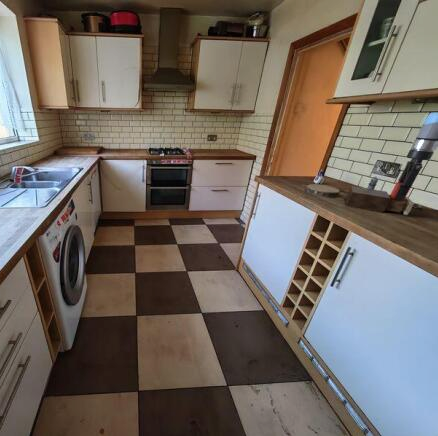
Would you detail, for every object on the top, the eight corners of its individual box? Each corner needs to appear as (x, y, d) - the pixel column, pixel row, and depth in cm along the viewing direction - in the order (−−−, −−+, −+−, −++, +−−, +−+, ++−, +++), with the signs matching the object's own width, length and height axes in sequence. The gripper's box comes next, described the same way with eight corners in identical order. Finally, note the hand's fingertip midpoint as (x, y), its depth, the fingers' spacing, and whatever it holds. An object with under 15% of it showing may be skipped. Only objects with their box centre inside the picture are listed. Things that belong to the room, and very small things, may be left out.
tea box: (397, 206, 116) (409, 183, 110) (399, 209, 112) (411, 185, 107) (385, 204, 118) (396, 181, 113) (386, 206, 115) (398, 183, 110)
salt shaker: (361, 193, 139) (370, 174, 134) (374, 196, 135) (383, 176, 130) (359, 195, 136) (368, 176, 130) (372, 198, 132) (382, 178, 126)
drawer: (413, 209, 115) (420, 198, 113) (420, 217, 106) (427, 206, 104) (367, 201, 125) (372, 191, 122) (370, 207, 116) (375, 197, 113)
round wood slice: (344, 197, 132) (346, 192, 131) (318, 197, 132) (320, 192, 130) (324, 188, 147) (325, 184, 145) (300, 188, 146) (302, 184, 145)
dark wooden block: (379, 204, 123) (386, 191, 119) (383, 212, 113) (391, 198, 110) (345, 198, 131) (351, 185, 127) (346, 205, 121) (352, 191, 117)
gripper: (406, 146, 112) (383, 191, 122) (415, 151, 98) (389, 201, 109) (428, 148, 108) (403, 194, 118) (441, 153, 94) (411, 205, 104)
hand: (396, 197), depth 113 cm, fingers open, 5 cm apart
